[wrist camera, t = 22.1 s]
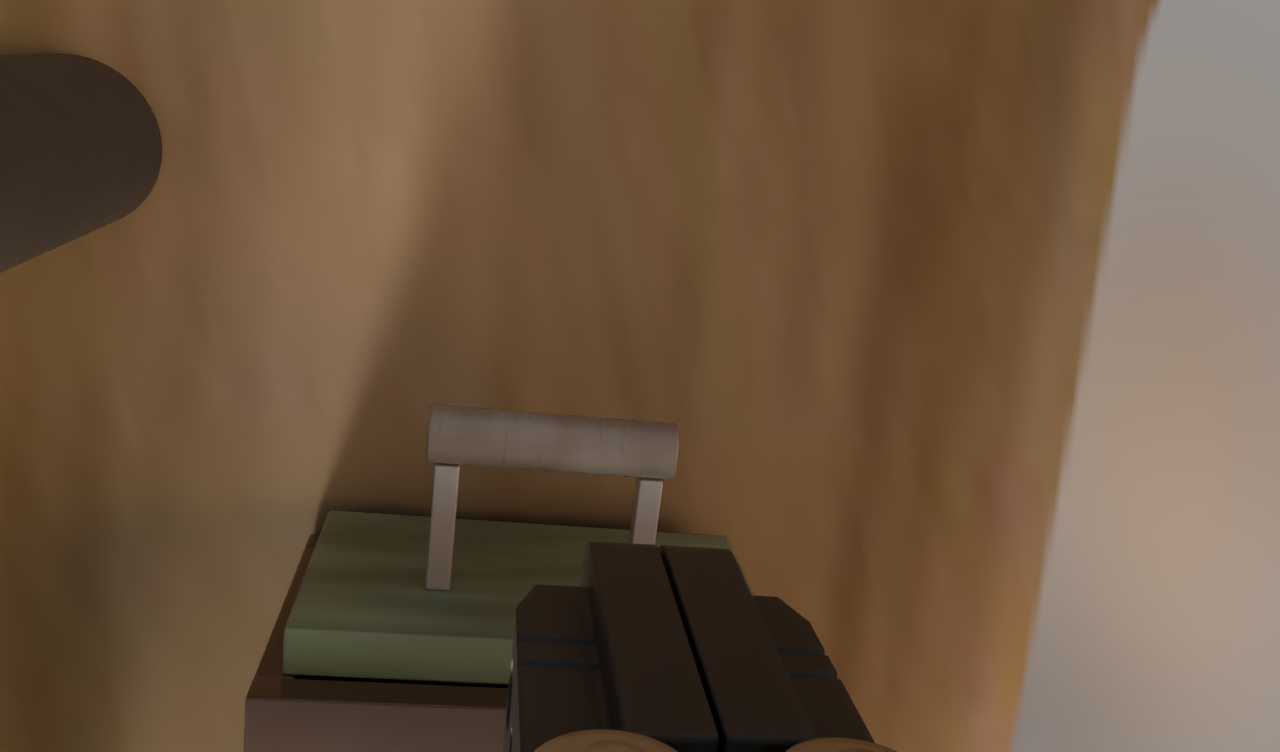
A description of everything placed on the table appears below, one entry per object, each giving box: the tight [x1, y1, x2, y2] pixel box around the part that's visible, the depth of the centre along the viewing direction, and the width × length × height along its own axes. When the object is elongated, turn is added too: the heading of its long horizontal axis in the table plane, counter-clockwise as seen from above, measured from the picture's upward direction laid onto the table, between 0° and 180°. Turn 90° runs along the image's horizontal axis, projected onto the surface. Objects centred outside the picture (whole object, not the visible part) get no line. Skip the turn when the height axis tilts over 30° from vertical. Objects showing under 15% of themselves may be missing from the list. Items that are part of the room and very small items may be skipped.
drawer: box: [282, 404, 754, 688], centre depth 31 cm, size 18×12×7 cm, turn 173°
